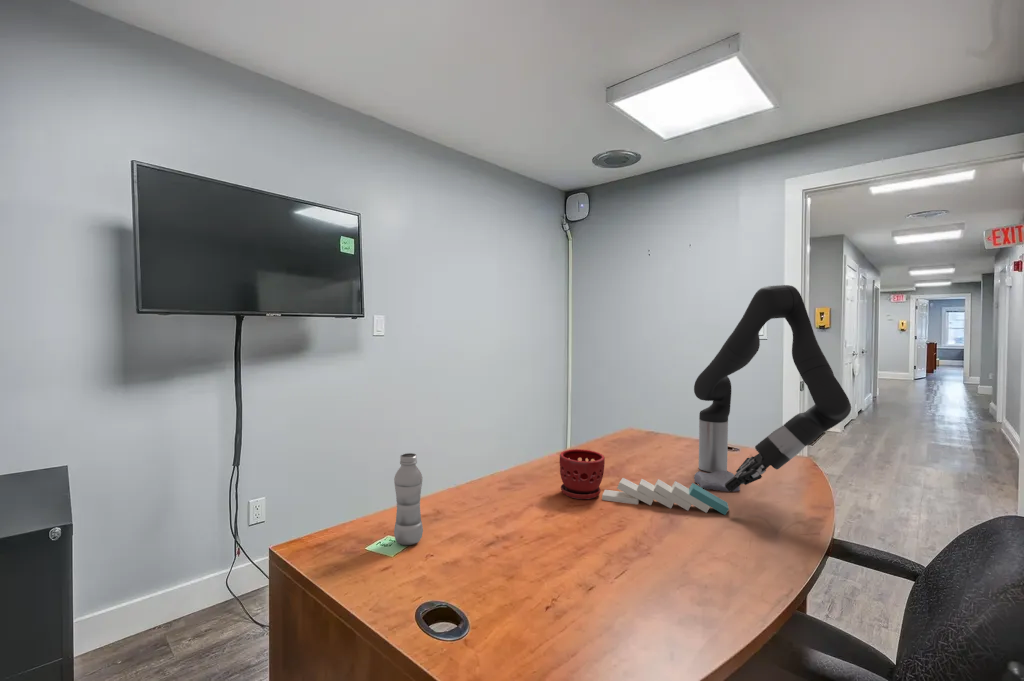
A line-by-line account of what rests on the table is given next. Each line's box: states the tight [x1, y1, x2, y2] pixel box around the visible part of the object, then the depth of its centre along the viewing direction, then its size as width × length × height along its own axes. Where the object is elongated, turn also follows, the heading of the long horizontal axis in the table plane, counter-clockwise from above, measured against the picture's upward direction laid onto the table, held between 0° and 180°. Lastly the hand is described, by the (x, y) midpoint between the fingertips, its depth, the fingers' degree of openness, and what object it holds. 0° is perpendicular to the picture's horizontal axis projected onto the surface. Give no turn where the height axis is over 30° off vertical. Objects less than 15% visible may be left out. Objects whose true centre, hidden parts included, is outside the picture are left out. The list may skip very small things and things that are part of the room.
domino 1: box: [601, 489, 640, 505], centre depth 139 cm, size 2×5×10 cm
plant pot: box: [559, 448, 606, 500], centre depth 143 cm, size 13×13×12 cm
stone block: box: [693, 470, 741, 492], centre depth 151 cm, size 12×5×10 cm
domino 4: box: [654, 478, 693, 512], centre depth 134 cm, size 2×5×10 cm
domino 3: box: [637, 478, 675, 509], centre depth 136 cm, size 2×5×10 cm
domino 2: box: [616, 477, 654, 506], centre depth 138 cm, size 2×5×10 cm
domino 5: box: [671, 480, 711, 514], centre depth 133 cm, size 2×5×10 cm
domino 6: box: [688, 482, 730, 516], centre depth 131 cm, size 2×5×10 cm
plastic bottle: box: [393, 452, 424, 546], centre depth 111 cm, size 6×7×20 cm
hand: (727, 488), depth 130 cm, fingers closed
